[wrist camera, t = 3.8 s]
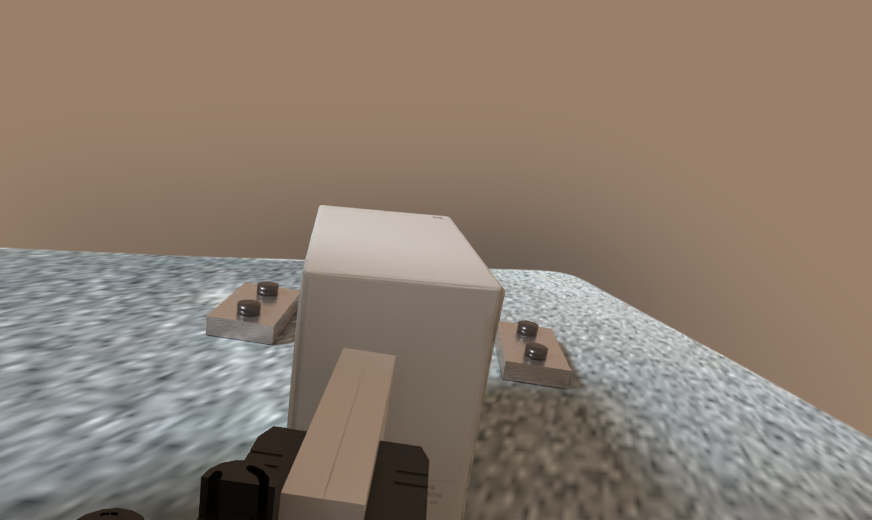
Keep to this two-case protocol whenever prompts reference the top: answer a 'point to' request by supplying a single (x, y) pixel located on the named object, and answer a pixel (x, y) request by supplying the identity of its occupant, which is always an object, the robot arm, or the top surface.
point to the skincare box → (402, 332)
